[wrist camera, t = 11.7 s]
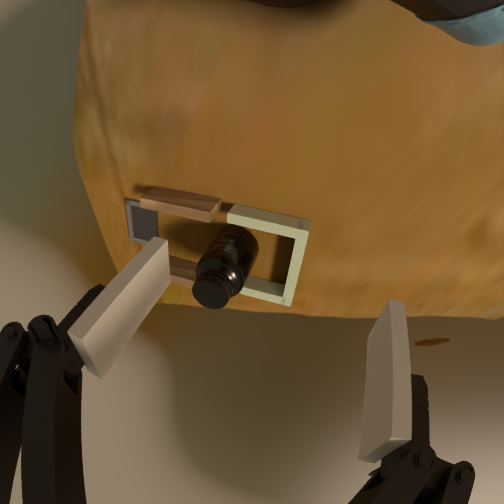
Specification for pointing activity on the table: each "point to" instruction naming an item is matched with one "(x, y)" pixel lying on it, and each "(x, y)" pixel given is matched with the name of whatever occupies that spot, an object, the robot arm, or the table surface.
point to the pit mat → (141, 222)
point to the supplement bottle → (225, 267)
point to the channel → (183, 207)
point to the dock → (281, 227)
